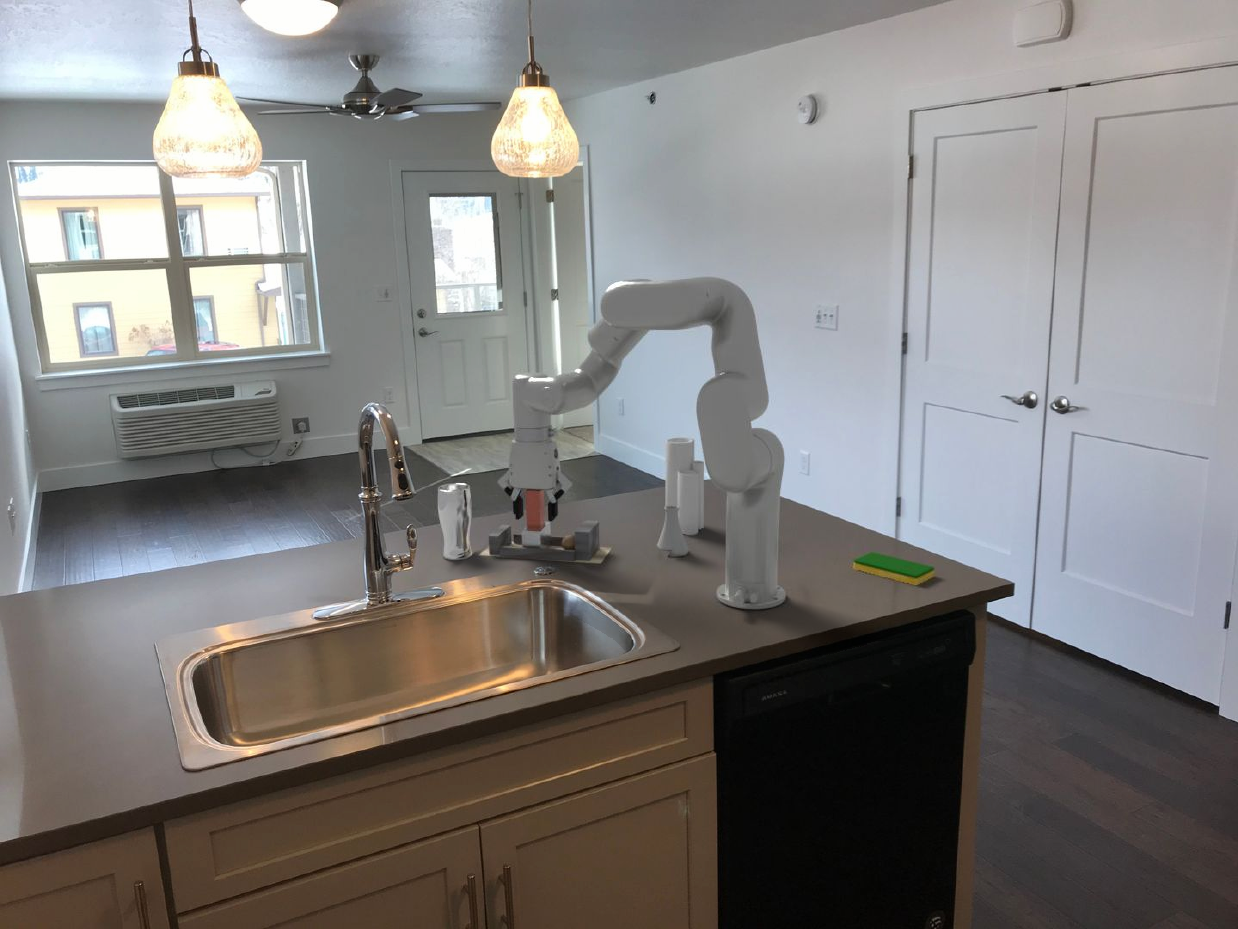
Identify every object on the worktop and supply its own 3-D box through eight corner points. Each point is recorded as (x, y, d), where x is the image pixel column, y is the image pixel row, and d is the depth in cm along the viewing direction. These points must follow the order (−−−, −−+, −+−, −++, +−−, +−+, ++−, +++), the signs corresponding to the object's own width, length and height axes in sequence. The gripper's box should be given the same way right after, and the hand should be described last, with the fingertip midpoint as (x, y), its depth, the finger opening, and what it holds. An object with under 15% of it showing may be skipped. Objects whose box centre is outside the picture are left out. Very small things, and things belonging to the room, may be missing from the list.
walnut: (576, 556, 198) (576, 538, 197) (560, 555, 198) (559, 537, 197) (581, 550, 201) (581, 533, 200) (565, 549, 202) (564, 532, 201)
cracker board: (600, 570, 194) (599, 534, 192) (479, 562, 199) (477, 527, 198) (612, 554, 203) (611, 520, 201) (496, 547, 209) (494, 513, 207)
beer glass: (464, 562, 199) (460, 492, 196) (434, 559, 202) (430, 490, 198) (479, 552, 206) (476, 484, 202) (450, 549, 208) (447, 482, 204)
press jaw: (540, 555, 197) (538, 493, 194) (522, 553, 198) (520, 492, 195) (551, 544, 204) (549, 485, 201) (533, 543, 205) (531, 484, 202)
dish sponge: (871, 562, 197) (872, 551, 197) (934, 578, 188) (935, 566, 187) (852, 571, 192) (853, 559, 192) (916, 588, 183) (916, 575, 182)
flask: (689, 558, 200) (690, 511, 198) (655, 558, 201) (654, 512, 198) (688, 546, 207) (688, 502, 205) (654, 547, 208) (654, 502, 205)
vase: (660, 523, 224) (659, 439, 220) (686, 519, 228) (686, 436, 223) (685, 536, 215) (685, 448, 210) (712, 531, 218) (713, 445, 213)
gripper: (578, 431, 197) (580, 516, 201) (499, 429, 201) (502, 511, 205) (568, 439, 190) (570, 526, 194) (486, 436, 194) (490, 521, 198)
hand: (535, 518), depth 200 cm, fingers open, 6 cm apart
